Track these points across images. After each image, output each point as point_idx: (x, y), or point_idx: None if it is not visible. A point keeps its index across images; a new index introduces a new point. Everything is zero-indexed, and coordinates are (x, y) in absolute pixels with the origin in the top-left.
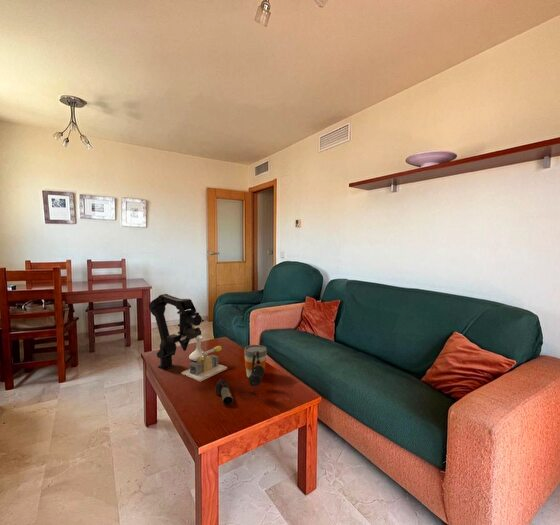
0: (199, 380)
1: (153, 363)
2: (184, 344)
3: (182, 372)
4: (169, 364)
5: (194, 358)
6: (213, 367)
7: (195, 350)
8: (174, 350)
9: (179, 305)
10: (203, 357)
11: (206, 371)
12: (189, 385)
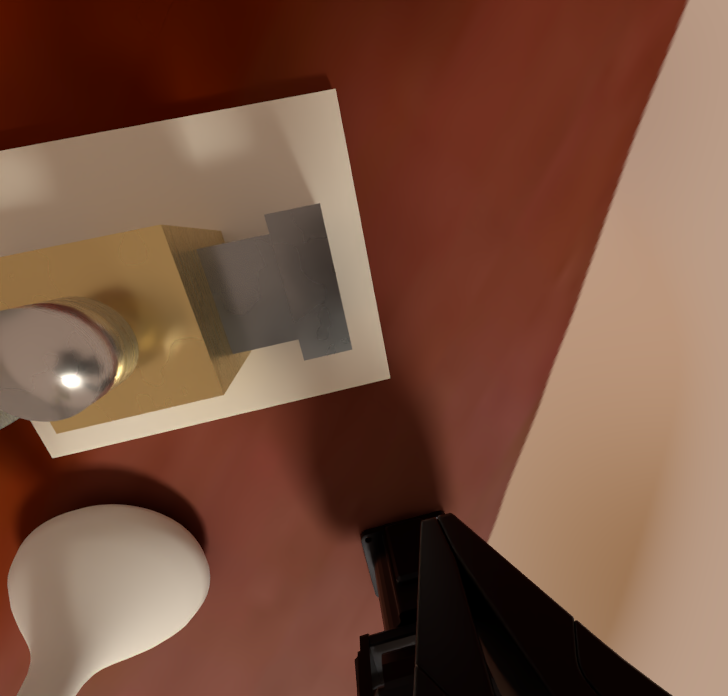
0: (338, 113)
1: None
2: (602, 673)
3: (388, 368)
4: (415, 538)
5: (177, 545)
6: None
7: (111, 655)
8: (403, 677)
9: None
10: None
11: None
12: (456, 103)
